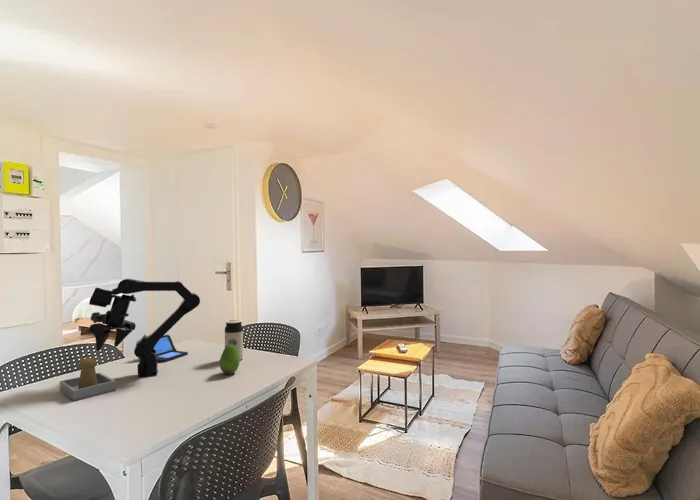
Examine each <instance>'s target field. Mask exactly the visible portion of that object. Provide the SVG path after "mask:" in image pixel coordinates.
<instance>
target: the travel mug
mask: <svg viewBox="0 0 700 500" xmlns="http://www.w3.org/2000/svg"><path fill="white" fill-rule="evenodd" d="M242 323H243V320H242V319H240V318H239V319H238V318H237V319H235V318H233V319H227V320H225V327H224V348H225V347H226V346H227V345H229V344H232V345H235V346H236V347H237V350H238V353H239V358H240V361H242V360H243V359H244V349H243V347H244V345H243V344H244V343H243V340H244V335H243V334H244V331H243V330H244V328H243V325H242ZM241 359H242V360H241Z"/></svg>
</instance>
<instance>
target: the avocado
mask: <svg viewBox="0 0 700 500" xmlns="http://www.w3.org/2000/svg"><path fill="white" fill-rule="evenodd" d="M240 362H241V360H240V358H239V353H238V350H237V347H236V346H235V345H232V344H229V345H227V346H226V347H225V346H224V349H223V351H222V353H221V355H220V359H219V367H220V371H221V372H222V373H224V374H226V375H232V374H234V373H235V372H237V371H238V369H239V366H240Z"/></svg>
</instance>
